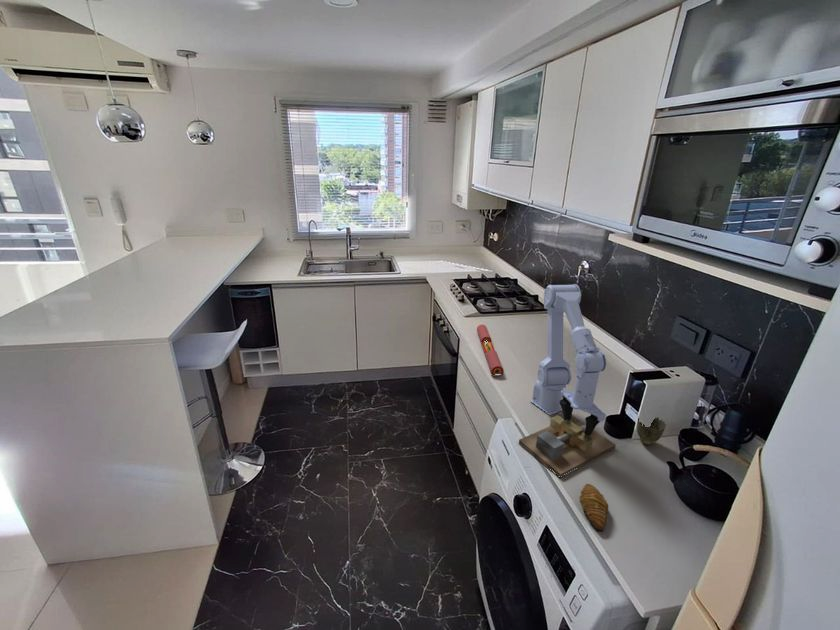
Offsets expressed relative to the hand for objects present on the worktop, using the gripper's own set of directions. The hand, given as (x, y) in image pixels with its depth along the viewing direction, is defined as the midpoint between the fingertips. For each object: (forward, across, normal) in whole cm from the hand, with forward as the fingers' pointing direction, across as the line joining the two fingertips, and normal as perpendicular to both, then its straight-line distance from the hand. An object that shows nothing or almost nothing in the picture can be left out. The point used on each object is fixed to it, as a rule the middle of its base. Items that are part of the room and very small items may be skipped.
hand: (577, 427), depth 118 cm
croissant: (+6, +19, -16) cm, 26 cm away
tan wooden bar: (+4, 0, -3) cm, 5 cm away
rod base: (+5, 0, -4) cm, 7 cm away
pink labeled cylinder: (+6, -60, +15) cm, 62 cm away
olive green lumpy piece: (+6, +11, +20) cm, 23 cm away
